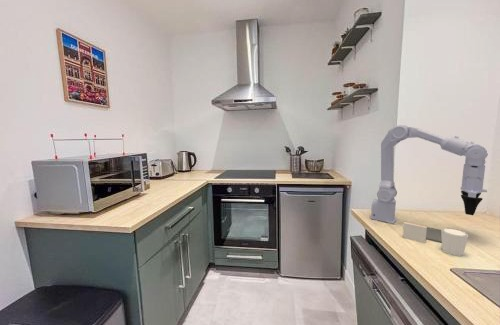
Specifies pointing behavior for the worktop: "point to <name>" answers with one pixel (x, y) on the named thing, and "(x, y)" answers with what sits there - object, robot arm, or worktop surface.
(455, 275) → the worktop surface
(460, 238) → the white short cylinder
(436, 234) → the plate
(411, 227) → the tile
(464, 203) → the robot arm
